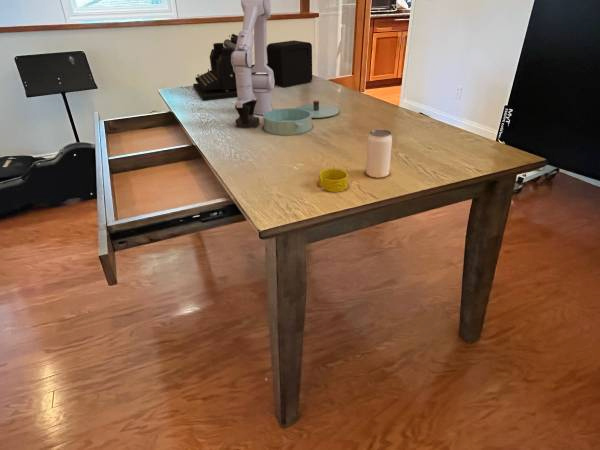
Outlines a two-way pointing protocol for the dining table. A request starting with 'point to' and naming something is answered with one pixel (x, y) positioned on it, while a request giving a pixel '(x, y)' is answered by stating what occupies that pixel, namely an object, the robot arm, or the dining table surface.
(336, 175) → the bracelet
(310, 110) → the lid
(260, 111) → the robot arm
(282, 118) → the pot
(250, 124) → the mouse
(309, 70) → the air purifier
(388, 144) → the can
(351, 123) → the dining table surface
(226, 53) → the typewriter
